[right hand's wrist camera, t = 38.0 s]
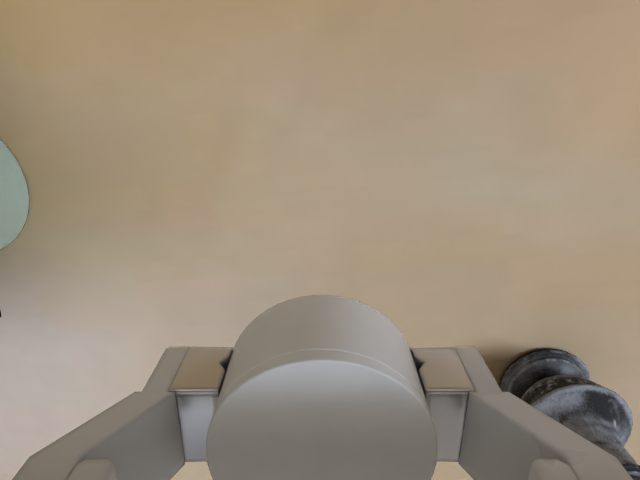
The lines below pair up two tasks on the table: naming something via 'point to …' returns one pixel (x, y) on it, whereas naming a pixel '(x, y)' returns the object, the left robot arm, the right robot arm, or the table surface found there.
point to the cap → (321, 399)
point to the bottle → (11, 197)
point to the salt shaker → (573, 400)
